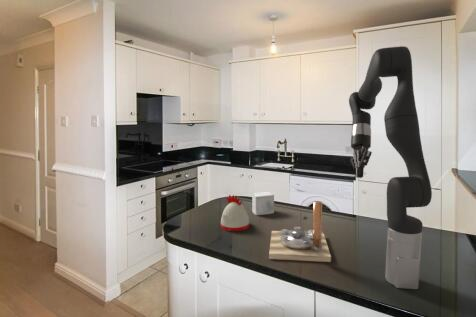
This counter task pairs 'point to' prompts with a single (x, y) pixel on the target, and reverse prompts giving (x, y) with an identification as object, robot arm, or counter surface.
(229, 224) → the kitchen timer
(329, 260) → the nut base plate
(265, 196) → the skincare box
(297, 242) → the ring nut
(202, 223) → the counter surface
